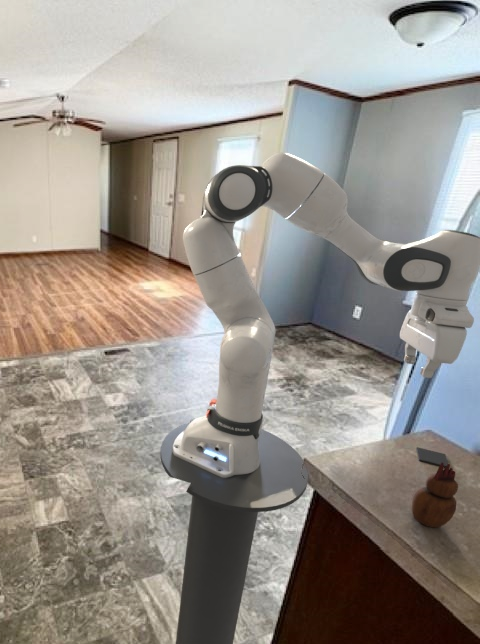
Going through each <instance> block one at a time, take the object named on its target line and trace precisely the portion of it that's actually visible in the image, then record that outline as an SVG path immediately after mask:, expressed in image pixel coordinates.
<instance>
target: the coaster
mask: <svg viewBox="0 0 480 644" xmlns="http://www.w3.org/2000/svg"><path fill="white" fill-rule="evenodd" d="M416 453H417V454H416V455H417V458H418V462H421V463H425V464H429V465H432V466H433V465H434V466H437V467H439V466H440V464H441V463H442V462H443V463H444V466H443V468H445V467H446V466H447V465H448V464H449V462H448V458H447V456H446V454H445V453H443V452H439V451H436V450H435V451H434V450H430V449H427V448H422V447H418V446H417V447H416Z"/></svg>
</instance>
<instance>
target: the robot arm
mask: <svg viewBox="0 0 480 644" xmlns="http://www.w3.org/2000/svg"><path fill="white" fill-rule="evenodd" d="M348 202H349V201H348V194H347V192H346V191H345V190H344V189H343V188H342V187H341V186H340V184H339V183H338V182H336V181H335V180H334V179H333V178H332V177H331V176H329V175H328V174H326V172H324V171H323V170H321V169H320V168H318V167H317V166H314V165H313V164H311V163H310V162H308V161H306V160H304V159H302V158H301V157H298V156H296V155H293V154H291V153H289V152H285V151H283V152H277V153H274V154H272V155H271V156H269V157H268V158H267V159H266V160H264V161H263V163H262V164H260V165H245V164H235V165H229V166H227V167H225V168H223V169H221V170H220V171H219V172H217V173H216V174H215V175H214V176H213V177H212V178H211V179H210V180H209V182H208V183H207V185H206V187H205V190H204V193H203V198H202V206H201V216H199V217H198V218H196V219H194V220H193V221H192V222H190V223H189V224H188V225H187V226H186V227H185V229H184V231H183V233H182V243H183V247H184V251H185V255H186V258H187V261H188V264H189V267H190V269H191V273H192V275H193V277H194V279H195V282H196V284H197V286H198V288H199V291H200V293H201V295H202V298H203V300H204V302H205V304H206V306H207V307H208V308H209V309H210V310H211V311H212V312H213V314H214V315H215V316H216V318H217V319H218V321H219V322H220V324H221V326H222V328H223V332H224V335H223V336H222V339H221V342H220V349H219V363H218V387H217V395H216V398H212V399H211V401H210V402H209V406H208V408H207V411H206V413H205V415H203V416H200V417H197V418H194V417H190V421H189V423H190V424H189V425H188V426H187V428H186V429H185V431H183V432H182V433H180V434H179V435H178V437H177V438H176V440H175V442H174V444H173V454H174V455H175V456H177V457H179V458H181V459H183V460H185V461H187V462H190V463H192V464H194V465H196V466H198V467H200V468H203V469H205V470H207V471H209V472H211V473H213V474H216V475H218V476H220V477H222V478H228V477H231V476H233V475H241V474H248V473H251V472H253V471H255V470H256V469H257V468H258V467H259V465H260V459H259V453H258V437H259V435H260V433H261V429H263V428H262V427H263V422H264V421H263V420H264V419H263V418H264V414H263V408H264V402H265V397H266V392H267V385H268V379H269V373H270V367H271V363H272V362H271V361H272V356H273V355H272V354H273V350H274V345H275V338H276V332H277V331H276V326H275V324H274V321H273V319H272V318H271V315H270V313H269V311H268V309H267V307H266V305H265V303H264V302H263V300H262V298H261V296H260V295H259V293H258V291H257V289H256V287H255V286H254V283H253V281H252V279H251V277H250V274H249V272H248V269H247V267H246V265H245V262H244V260H243V257H242V255H241V252H240V250H239V248H238V246H237V244H236V240H235V237H234V227H235V225H236V223H237V222H240V221H241V220H243V219H245V218H247V217H249V216H251V215H252V214H253V213H255V212H256V211H257V210H258V209H260V208H261V207H264V208H267V209H270V210H272V211H274V212H275V213H277V214H278V215H279V216H280V217H282V218H284V219H285V220H286V221H288V222H289V223H291V224H292V225H293V226H295V227H297V228H298V229H300V230H303V231H304V232H307V233H309V234H311V235H315V236H318V237H320V238H322V239H325V240H326V241H327V242H329V243H330V244H331V245H333V246H334V247H336V248H337V249H338V250H340V251H341V252H342V253H344V254H345V255H346V256H347V257H349V258H350V259H351V260H352V262H353V263H354V264H355V266H356V268H357V270H358V273H359V274H360V276H361V277H362V278H363V280H365V281H366V282H368V283H369V284H372V285H375V286H381V287H384V288H387V289H390V290H393V291H397V292H414V291H415V295H414V297H413V301H412V303H411V307H410V308H411V309H409V310H408V311H407V313H406V315H405V317H404V320H403V323H402V325H401V328H400V331H399V339H400V340H402V341H403V342H405V345H404V358H403V362H405V364H407V365H414V364H416V360H417V357H416V354H417V351H418V352H419V353H421V354H422V355H423V356H425V357H427V358H426V361H425V362H426V364H425V365H424V366H422V367H421V369H420V373H419V374H420V375H421V376H422V377H423V378H427V379H432V378H433V377H434V374H435V371H436V370H437V369H438V368H440V367H441V364H446V365H447V364H449V365H452V364H453V363H455V361H457V359H458V358H459V356H460V354H461V352H462V351H461V350H462V348H463V347H464V344H465V341H466V338H467V335H468V331H467V329H471V328H472V327H473V325H474V323H475V318H474V316H473V315H472V313H471V311H470V310H469V309H468V306H467V305H468V304H467V303H468V301H469V297H470V296H469V294H470V293H469V291H470V288H471V287H472V284H473V283H474V282H475V280H476V278H477V275H478V272H479V269H480V236H478V235H476V234H473V233H470V232H466V231H459V230H454V229H443V230H440V231H439V232H438V233H436V234H433V235H431V236H429V237H426V238H424V239H420V240H417V241H413V242H408V243H401V242H396V241H391V240H384V239H380V238H378V237H376V236H374V235H373V234H372V233H370V232H369V231H368V230H366V229H365V228H364V227H363V226H361V225H360V224H358V223H357V222H356V220H354V219H353V218H351V216H350V215H349V214H348V210H347V208H348Z"/></svg>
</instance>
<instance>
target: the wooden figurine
mask: <svg viewBox="0 0 480 644" xmlns="http://www.w3.org/2000/svg"><path fill="white" fill-rule="evenodd" d="M443 466H444V463H443V462H442V463H441V464H440V466H438V469H437V471H436V472H434V473H432V474H430V475H428V476H427V478H426V480H425V486H421V487H419V488H417V489H416V490H415V491H414V493H413V494H412V497H411V502H410V506H411V513H412V517H413V519H415V520H416V521H417V522H418V523H420V524H421V525H424V526H427V527H430V528H441V527H443V526H444V525H446V524H447V523H449V522H450V521H451V519H452V518H453V517H454V515H455V513H456V511H457V504H458V503H457V500H456V498H455V495H456V494H457V492H458V489H459V484H458V482H457V481H456V479H455V478H456V471H455V470H454V468H453V467H451V464H450V463H448V465H447V466H446V467H443Z"/></svg>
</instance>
